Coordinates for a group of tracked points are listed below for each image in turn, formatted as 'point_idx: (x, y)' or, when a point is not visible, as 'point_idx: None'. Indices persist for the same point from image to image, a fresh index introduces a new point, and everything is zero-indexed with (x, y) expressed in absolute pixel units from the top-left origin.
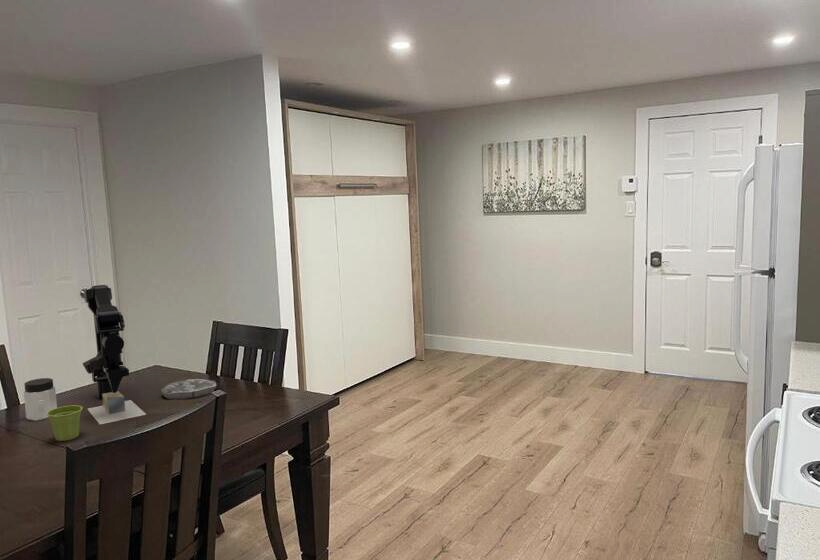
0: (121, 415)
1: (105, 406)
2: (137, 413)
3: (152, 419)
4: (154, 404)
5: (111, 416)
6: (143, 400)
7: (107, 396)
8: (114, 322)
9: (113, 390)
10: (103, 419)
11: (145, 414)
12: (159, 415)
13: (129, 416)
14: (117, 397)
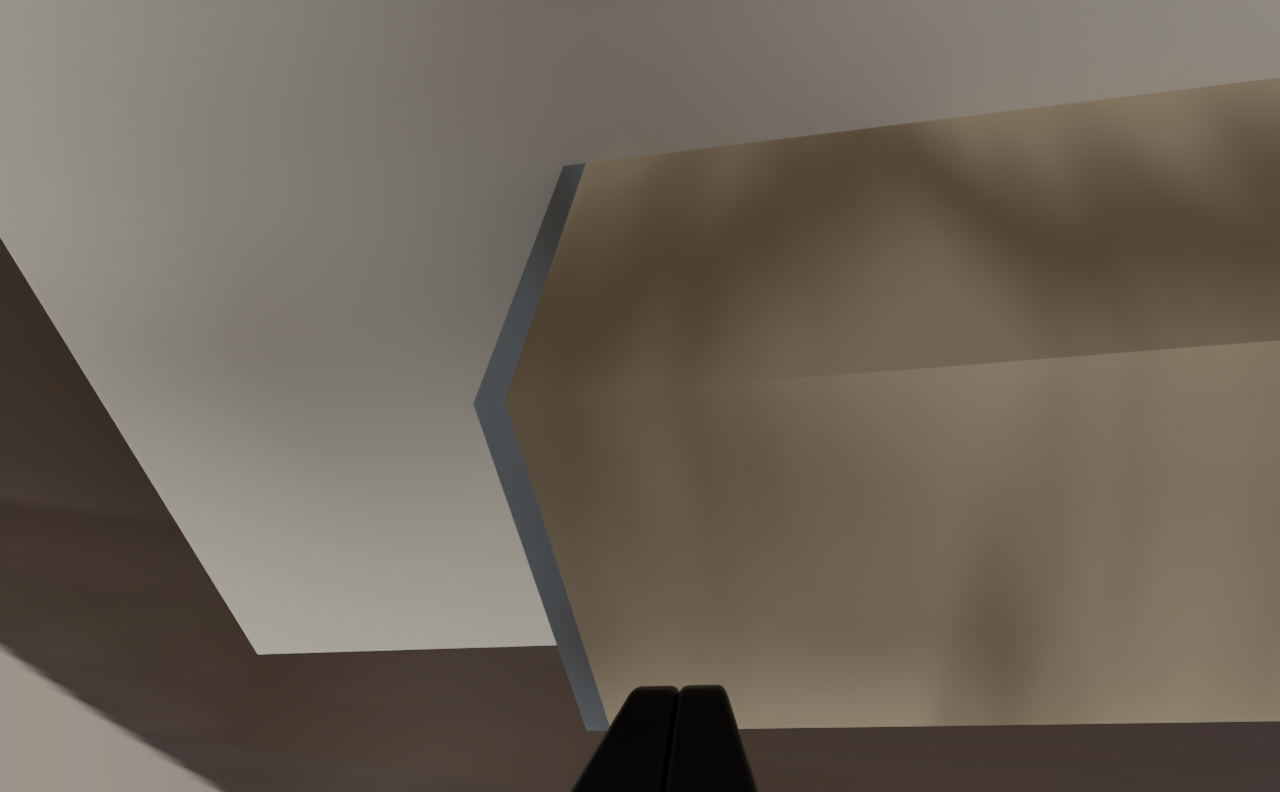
0: (351, 370)
1: (970, 171)
2: (358, 579)
3: (55, 659)
4: (802, 786)
5: (360, 197)
6: (1185, 734)
7: (935, 433)
8: None
9: (595, 783)
10: (184, 11)
11: (257, 646)
12: (214, 737)
13: (226, 469)
14: (601, 622)
